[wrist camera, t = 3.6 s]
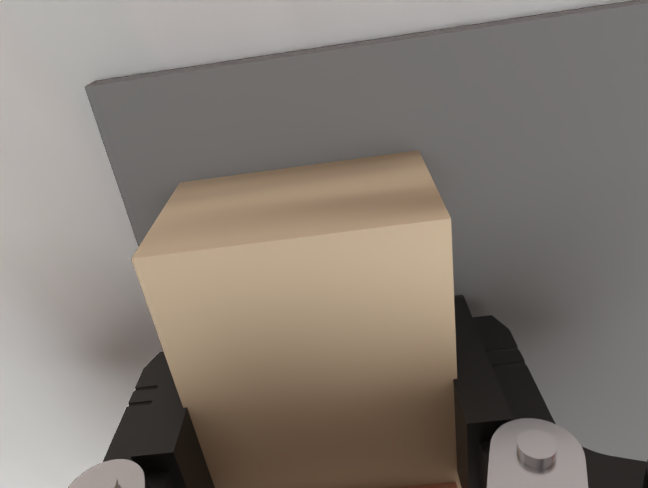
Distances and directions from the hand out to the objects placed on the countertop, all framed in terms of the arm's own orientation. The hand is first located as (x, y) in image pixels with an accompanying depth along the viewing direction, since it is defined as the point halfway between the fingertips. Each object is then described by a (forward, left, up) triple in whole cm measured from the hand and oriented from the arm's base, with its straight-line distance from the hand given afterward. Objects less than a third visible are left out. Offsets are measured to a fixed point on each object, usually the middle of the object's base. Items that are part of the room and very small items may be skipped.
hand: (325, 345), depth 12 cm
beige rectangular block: (0, 0, 0) cm, 0 cm away
